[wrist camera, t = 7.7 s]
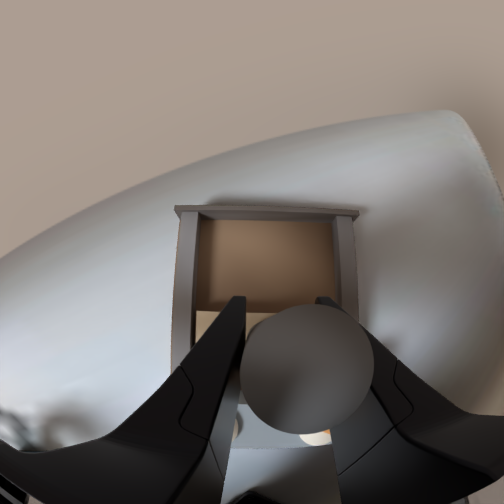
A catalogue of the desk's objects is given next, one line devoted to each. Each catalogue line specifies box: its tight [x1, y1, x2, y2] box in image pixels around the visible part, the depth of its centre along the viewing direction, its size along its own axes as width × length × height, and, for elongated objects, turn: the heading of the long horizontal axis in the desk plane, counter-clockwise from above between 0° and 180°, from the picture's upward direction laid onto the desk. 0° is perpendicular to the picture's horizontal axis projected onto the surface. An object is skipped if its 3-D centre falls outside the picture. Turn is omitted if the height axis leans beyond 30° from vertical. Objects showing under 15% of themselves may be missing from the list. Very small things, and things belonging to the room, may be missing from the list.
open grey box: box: [171, 205, 359, 390], centre depth 15 cm, size 13×11×2 cm
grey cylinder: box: [196, 304, 374, 435], centre depth 9 cm, size 3×8×11 cm, turn 89°
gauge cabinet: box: [231, 390, 332, 449], centre depth 13 cm, size 2×11×4 cm, turn 89°
